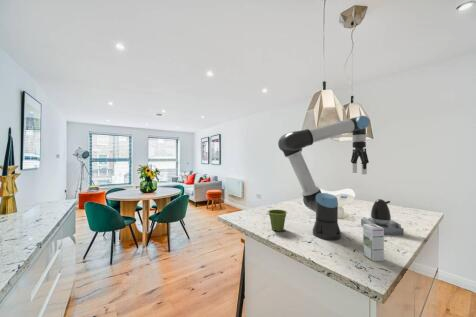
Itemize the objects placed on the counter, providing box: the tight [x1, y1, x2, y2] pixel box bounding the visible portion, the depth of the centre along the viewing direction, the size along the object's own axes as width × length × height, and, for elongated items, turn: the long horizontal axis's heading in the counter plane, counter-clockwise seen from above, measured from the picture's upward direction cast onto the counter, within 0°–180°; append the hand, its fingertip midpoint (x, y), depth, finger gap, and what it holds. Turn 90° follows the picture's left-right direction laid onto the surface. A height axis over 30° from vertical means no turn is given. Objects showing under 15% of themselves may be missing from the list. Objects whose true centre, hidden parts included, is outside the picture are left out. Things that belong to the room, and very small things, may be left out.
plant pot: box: [267, 209, 288, 232], centre depth 124 cm, size 12×12×11 cm
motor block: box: [360, 216, 405, 237], centre depth 125 cm, size 16×20×6 cm
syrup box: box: [362, 224, 385, 262], centre depth 88 cm, size 6×6×14 cm
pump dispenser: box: [370, 198, 392, 225], centre depth 123 cm, size 10×10×15 cm
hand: (359, 173), depth 131 cm, fingers open, 13 cm apart
